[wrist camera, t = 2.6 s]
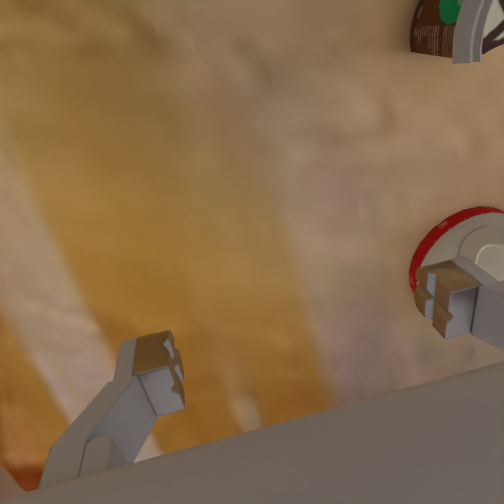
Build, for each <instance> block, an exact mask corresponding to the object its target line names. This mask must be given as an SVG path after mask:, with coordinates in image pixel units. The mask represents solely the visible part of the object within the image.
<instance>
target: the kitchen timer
mask: <svg viewBox="0 0 504 504" xmlns="http://www.w3.org/2000/svg"><path fill="white" fill-rule="evenodd" d="M459 256H463V257H466V258H468V259H469V260H470V261H472V262H473V263H475V264H476V265H477V266H479V267H480V268H481V269H483V270H484V271H486V272H487V273H488V274H490V275H491V276H492V277H494V278H495V279H497V280H498V281H503V280H504V212H502V211H500V210H498V209H496V208H490V207H477V208H472V209H467V210H463V211H461V212H459V213H457V214H455V215H453V216H450V217H448V218H447V219H446V220H444V221H443V222H442V223H440V224H439V225H438V226H436V227H435V228H434V229H433V230H432V231H431V232H430V233H429V234H428V235H427V236H426V238H425V239H424V240H423V241H422V242H421V244H420V246H419V247H418V249H417V251H416V253H415V255H414V256H413V259H412V263H411V267H410V271H409V275H410V286H411V288H412V290H413V292H414V289H415V288H416V287H417V285H418V284H419V282H418V281H417V280H416V279H415V274H416V270H417V268H419V267H423V266H427V265H431V264H435V263H439V262H443V261H446V260H449V259H452V258H456V257H459Z"/></svg>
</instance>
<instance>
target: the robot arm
mask: <svg viewBox="0 0 504 504" xmlns="http://www.w3.org/2000/svg"><path fill="white" fill-rule="evenodd" d="M415 279H416V280H417V281H418V282H419V284H418V285H417V287H416V288H415V289H414V299H415V302H416V306H417V308H418V309H419V311H420V312H421V313H422V315H423V316H424V317H427V318H429V319H432V320H433V325H432V326H433V327H434V328H435V329H436V330H437V331H438V332H439V333H440V334H441V335H442V336H443V337H444V339H449V338H453V337H457V336H461V335H465V334H470V333H471V335H473V336H475V337H477V338H479V339H481V340H483V341H486V342H488V343H490V344H492V345H494V346H496V347H498V348H500V349H502V350H504V280H503V281H498V280H497V279H495V278H494V277H492V276H491V275H490V274H488V273H487V272H486V271H484V270H483V269H481V268H480V267H479V266H477V265H476V264H475V263H473V262H472V261H470V260H469V259H468V258H466V257H463V256H459V257H456V258H452V259H449V260H446V261H443V262H439V263H435V264H431V265H427V266H423V267H419V268H417V270H416V274H415ZM183 380H184V371H183V365H182V360H181V356H180V353H179V350H178V349H176V348H175V343H174V337H173V335H172V332H171V331H170V330H167V331H163V332H159V333H154V334H150V335H145V336H141V337H138V338H133V339H129V340H125V341H122V342H121V344H120V346H119V352H118V357H117V363H116V368H115V374H114V380H113V381H111V382H108V383H107V385H106V386H105V387H104V388H103V389H102V390H101V391H100V393H99V394H98V395H97V396H96V397H95V398H94V399H93V400H92V402H91V403H90V404H89V405H88V406H87V407H86V408H85V410H84V411H83V412H82V413H81V414H80V415H79V416H78V418H77V419H76V420H75V421H74V422H73V423H72V424H71V426H70V427H69V428H68V429H67V430H66V431H65V432H64V434H63V435H62V436H61V437H60V438H59V439H58V440H57V442H56V443H55V444H54V445H53V446H52V447H51V448H50V452H49V455H48V458H47V461H46V465H45V468H44V471H43V474H42V478H41V481H40V484H39V487H38V489H37V490H34V491H30V492H26V493H23V494H19V495H15V496H12V497H8V498H5V499H1V500H0V504H504V361H503V362H499V363H496V364H492V365H489V366H485V367H481V368H478V369H474V370H471V371H467V372H463V373H460V374H456V375H452V376H449V377H445V378H441V379H438V380H434V381H430V382H427V383H423V384H419V385H416V386H412V387H408V388H405V389H401V390H397V391H394V392H390V393H386V394H383V395H379V396H375V397H372V398H368V399H365V400H361V401H357V402H354V403H350V404H346V405H343V406H339V407H336V408H332V409H328V410H325V411H321V412H317V413H314V414H310V415H307V416H303V417H299V418H296V419H292V420H288V421H285V422H281V423H277V424H274V425H270V426H267V427H263V428H259V429H256V430H252V431H248V432H245V433H241V434H237V435H234V436H230V437H227V438H223V439H219V440H216V441H212V442H208V443H205V444H201V445H197V446H194V447H190V448H187V449H183V450H179V451H176V452H172V453H168V454H165V455H161V456H157V457H154V458H150V459H147V460H143V461H139V462H136V463H133V462H134V460H135V458H136V456H137V455H138V453H139V451H140V449H141V447H142V445H143V444H144V442H145V440H146V438H147V436H148V435H149V433H150V431H151V429H152V427H153V426H154V424H155V422H156V420H157V417H159V416H162V415H166V414H169V413H172V412H176V411H179V410H182V409H185V398H184V389H183V386H182V381H183Z"/></svg>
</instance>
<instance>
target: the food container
mask: <svg viewBox="0 0 504 504" xmlns="http://www.w3.org/2000/svg"><path fill="white" fill-rule="evenodd" d="M502 44H504V0H420V1H419V3H418V5H417V8H416V10H415V13H414V17H413V20H412V26H411V34H410V46H411V52H415V53H421V54H428V55H434V56H441V57H448V58H453V64H457V63H471V62H473V61H475V62H481V55H482V54H485V53H486V52H488V51H489V50H491V49H493V48H495V47H497V46H500V45H502Z"/></svg>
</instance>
